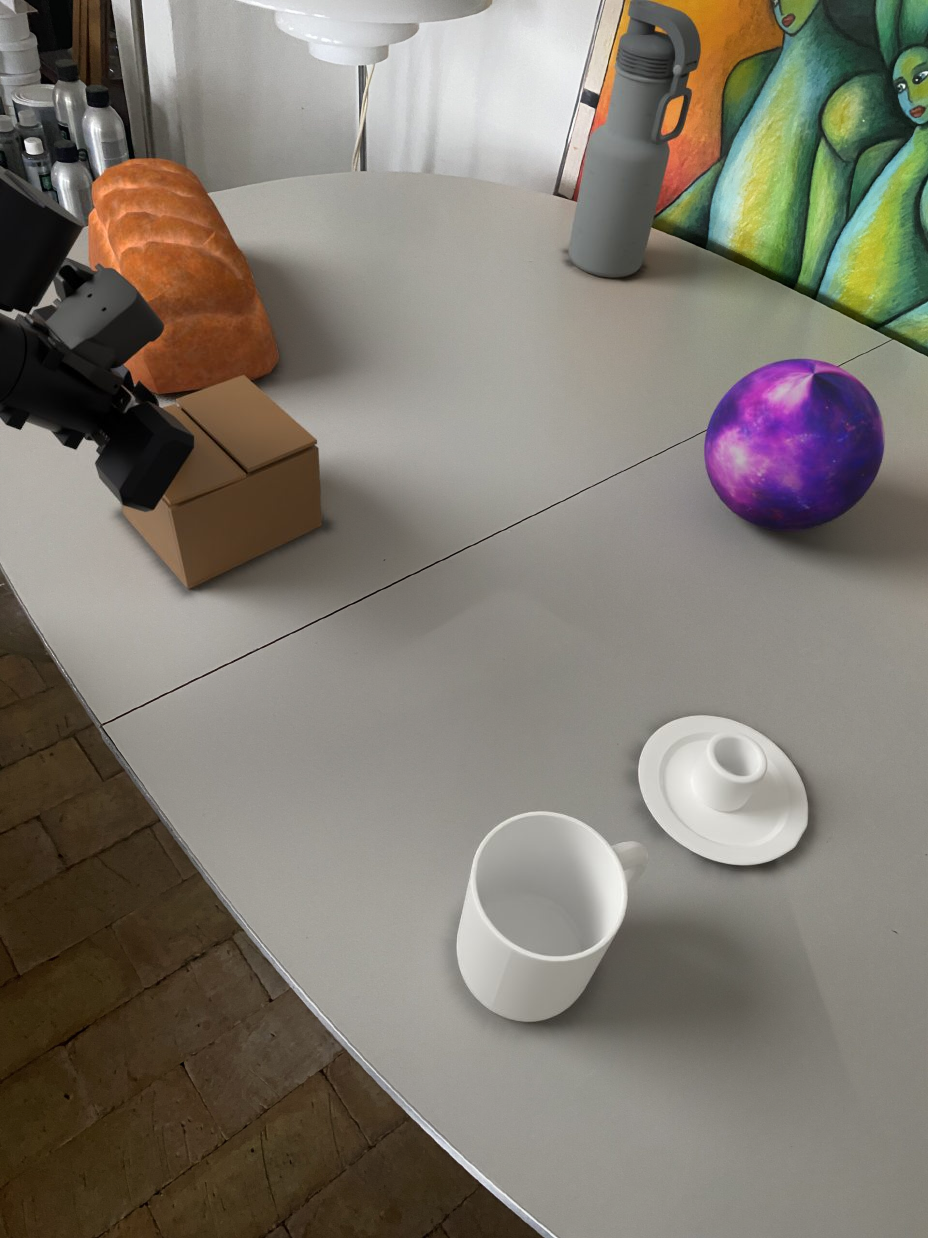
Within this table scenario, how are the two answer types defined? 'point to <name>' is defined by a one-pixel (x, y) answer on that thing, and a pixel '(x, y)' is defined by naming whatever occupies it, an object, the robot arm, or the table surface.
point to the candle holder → (723, 790)
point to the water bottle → (633, 141)
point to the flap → (200, 465)
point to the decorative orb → (794, 444)
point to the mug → (542, 912)
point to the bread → (180, 276)
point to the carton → (238, 487)
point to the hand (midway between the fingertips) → (185, 441)
